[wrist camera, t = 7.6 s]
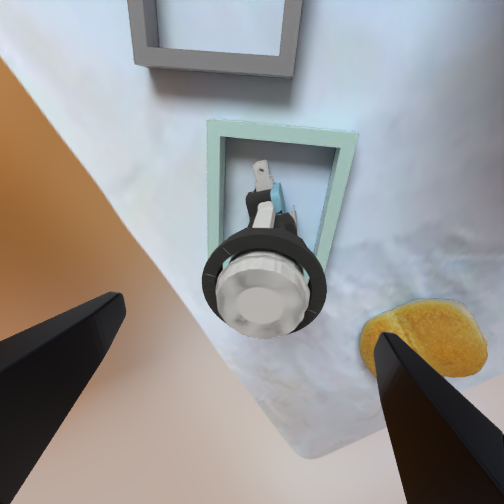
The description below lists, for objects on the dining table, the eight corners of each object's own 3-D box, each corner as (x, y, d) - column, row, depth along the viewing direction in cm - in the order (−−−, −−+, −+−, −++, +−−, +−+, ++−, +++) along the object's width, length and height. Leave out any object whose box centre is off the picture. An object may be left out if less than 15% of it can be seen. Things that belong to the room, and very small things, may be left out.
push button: (224, 167, 18) (161, 225, 9) (303, 149, 17) (314, 196, 8) (248, 252, 21) (216, 356, 12) (317, 242, 20) (336, 349, 11)
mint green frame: (353, 131, 16) (359, 133, 15) (318, 277, 21) (320, 288, 20) (213, 118, 17) (206, 119, 15) (212, 262, 22) (207, 272, 21)
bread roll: (340, 325, 24) (348, 363, 20) (446, 277, 20) (478, 313, 17) (386, 379, 26) (400, 421, 23) (488, 344, 22) (524, 388, 19)
